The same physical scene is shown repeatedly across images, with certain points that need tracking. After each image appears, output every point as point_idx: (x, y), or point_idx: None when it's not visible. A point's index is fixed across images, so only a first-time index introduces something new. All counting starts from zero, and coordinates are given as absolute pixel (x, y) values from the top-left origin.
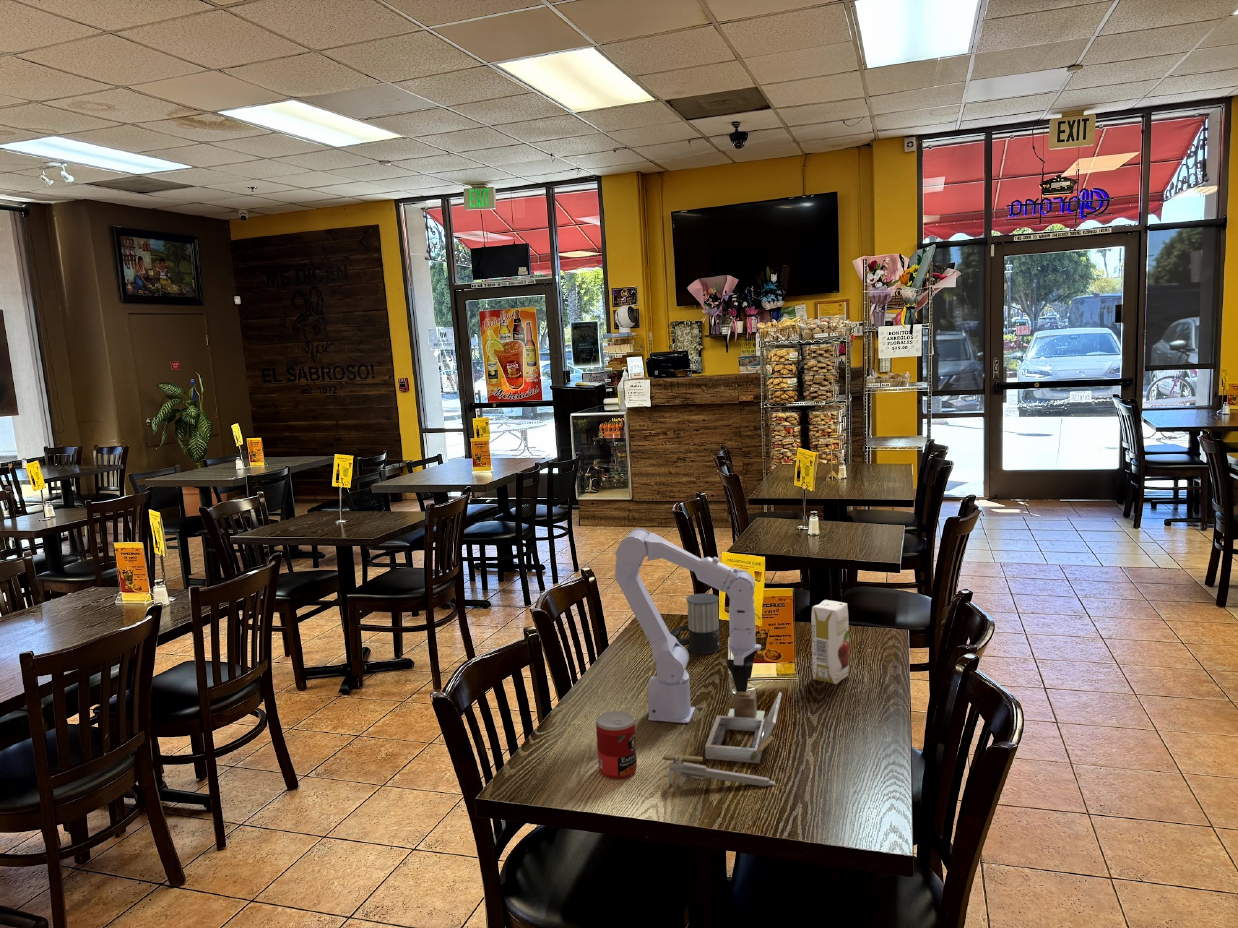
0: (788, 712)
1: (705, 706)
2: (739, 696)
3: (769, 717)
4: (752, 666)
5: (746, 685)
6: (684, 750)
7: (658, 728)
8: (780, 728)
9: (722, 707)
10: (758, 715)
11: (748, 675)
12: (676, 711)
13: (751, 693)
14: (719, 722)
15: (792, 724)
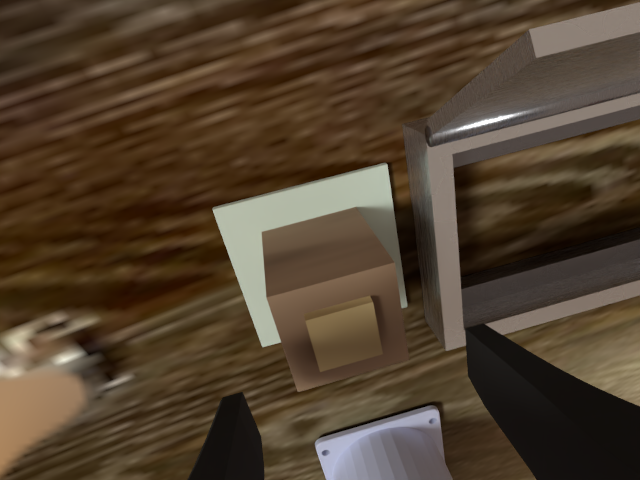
0: (146, 88)
1: (274, 422)
2: (383, 341)
3: (617, 74)
4: (208, 469)
5: (521, 348)
6: (617, 328)
7: (485, 448)
8: (361, 65)
9: (253, 375)
10: (275, 218)
11: (614, 401)
12: (446, 467)
13: (316, 305)
14: (498, 316)
15: (289, 13)
